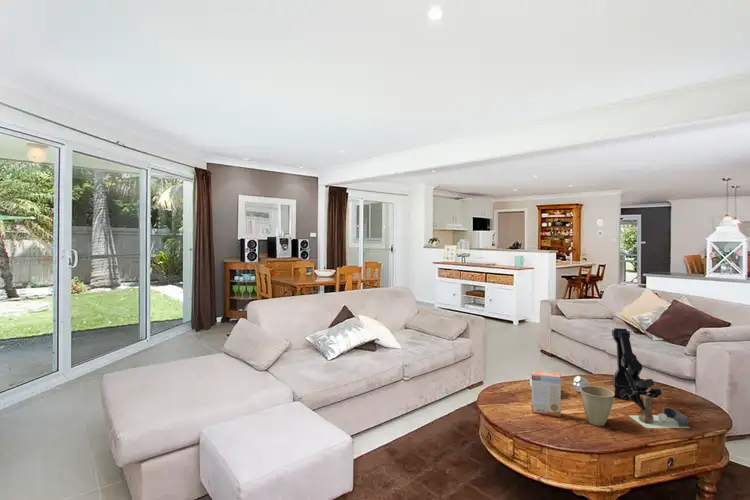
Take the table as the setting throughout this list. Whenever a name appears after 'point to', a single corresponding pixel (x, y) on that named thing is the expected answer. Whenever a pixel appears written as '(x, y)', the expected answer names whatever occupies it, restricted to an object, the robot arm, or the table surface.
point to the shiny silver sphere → (579, 383)
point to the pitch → (658, 422)
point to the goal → (676, 416)
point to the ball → (662, 417)
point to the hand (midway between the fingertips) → (648, 409)
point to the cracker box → (546, 393)
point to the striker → (646, 410)
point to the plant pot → (597, 404)
